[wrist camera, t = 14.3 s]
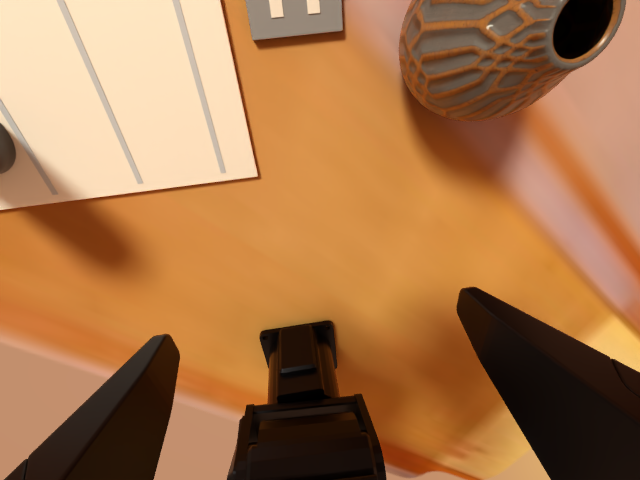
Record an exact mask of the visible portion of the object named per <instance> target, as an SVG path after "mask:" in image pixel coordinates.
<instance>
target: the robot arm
mask: <svg viewBox="0 0 640 480" xmlns="http://www.w3.org/2000/svg"><path fill="white" fill-rule="evenodd" d="M457 314H458V316H459V318H460V320H461V323H462V325H463V327H464V329H465V331H466V333H467V335H468V338H469V340H470V342H471V344H472V346H473V348H474V350H475V352H476V354H477V356H478V358H479V360H480V362H481V364H482V366H483V367H484V369H485V371H486V372H487V374H488V376H489V377H490V379H491V381H492V382H493V384H494V386H495V387H496V389H497V391H498V392H499V394H500V396H501V397H502V399H503V401H504V402H505V404H506V406H507V407H508V409H509V411H510V412H511V414H512V416H513V417H514V419H515V421H516V422H517V424H518V426H519V427H520V429H521V431H522V432H523V434H524V436H525V437H526V439H527V441H528V442H529V444H530V446H531V447H532V449H533V451H534V452H535V454H536V456H537V457H538V459H539V460H540V462H541V464H542V466H543V467H544V469H545V471H546V472H547V474H548V476H549V477H550V479H551V480H640V372H638V371H636V370H634V369H632V368H630V367H628V366H626V365H624V364H622V363H620V362H618V361H617V360H615V359H610V357H609V356H607V355H605V354H603V353H601V352H599V351H597V350H595V349H593V348H591V347H590V346H588V345H586V344H584V343H582V342H580V341H578V340H576V339H574V338H572V337H570V336H569V335H567V334H565V333H563V332H561V331H559V330H557V329H555V328H553V327H551V326H549V325H547V324H546V323H544V322H542V321H540V320H538V319H536V318H534V317H532V316H530V315H528V314H526V313H525V312H523V311H521V310H519V309H517V308H515V307H513V306H511V305H509V304H507V303H505V302H504V301H502V300H500V299H498V298H496V297H494V296H492V295H490V294H488V293H486V292H484V291H482V290H481V289H479V288H477V287H467V288H462V289H461V290H460V293H459V298H458V303H457ZM326 326H328V327H326ZM260 342H261V345H262V348H263V352H264V355H265V358H266V362H267V365H268V368H269V381H268V404H264V405H254V404H251V405H246V411H245V416H243V417H242V419H240V422H239V431H238V439H237V445H236V449H235V452H234V455H233V459H232V462H231V466H230V469H229V472H228V476H227V480H386V471H385V465H384V460H383V455H382V451H381V447H380V443H379V440H378V437H377V435H376V432H375V429H374V426H373V424H372V421H371V418H370V416H369V413H368V410H367V407H366V405H365V402H364V399H363V397H362V394H354V396H346V397H340V395H339V390H338V384H337V379H336V373H335V369H336V368H337V359H336V350H335V340H334V330H333V324H332V322H331V321H322V322H315V323H309V324H302V325H296V326H290V327H283V328H277V329H271V330H264V331H262V332H261V333H260ZM179 360H180V354H179V350H178V348H177V347H176V345H175V343H174V341H173V339H172V337H171V336H170V335H169V334H162V335H156V336H154V337H152V338H151V339H150V340H149V341H148V342H147V343H146V344H145V345H144V346H143V347H142V348H141V349H140V350H139V351H137V352H136V353H135V354H134V355H133V356H132V357H131V358H130V359H129V360H128V361H127V362H126V363H125V364H124V365H123V366H122V367H121V368H120V369H119V370H118V371H117V372H116V373H115V374H114V375H113V376H111V377H110V378H109V379H108V380H107V381H106V382H105V383H104V384H103V385H102V386H101V387H100V388H99V389H98V390H97V391H96V392H95V393H94V394H93V395H92V396H91V397H90V398H89V399H88V400H87V401H86V402H84V403H83V404H82V405H81V406H80V407H79V408H78V409H77V410H76V411H75V412H74V413H73V414H72V415H71V416H70V417H69V418H68V419H67V420H66V421H65V422H64V423H63V424H62V425H61V426H60V427H58V428H57V429H56V430H55V431H54V432H53V433H52V434H51V435H50V436H49V437H48V438H47V439H46V440H45V441H44V442H43V443H42V444H41V445H40V446H39V447H38V448H37V449H36V450H35V451H33V452H32V453H31V455H30V456H29V458H28V459H25V460H24V461H23V462H22V463H21V464H20V465H19V466H18V467H17V468H16V469H15V470H14V471H13V472H12V473H11V474H9V475H8V476H7V477H6V478H5V479H4V480H153V479H154V476H155V472H156V468H157V464H158V460H159V457H160V452H161V449H162V445H163V442H164V437H165V434H166V430H167V426H168V422H169V418H170V414H171V410H172V405H173V399H174V393H175V386H176V380H177V373H178V367H179Z"/></svg>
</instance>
